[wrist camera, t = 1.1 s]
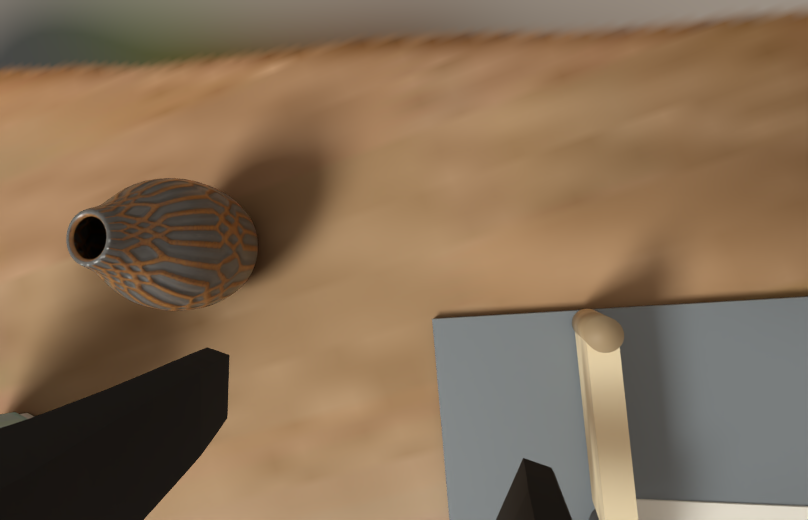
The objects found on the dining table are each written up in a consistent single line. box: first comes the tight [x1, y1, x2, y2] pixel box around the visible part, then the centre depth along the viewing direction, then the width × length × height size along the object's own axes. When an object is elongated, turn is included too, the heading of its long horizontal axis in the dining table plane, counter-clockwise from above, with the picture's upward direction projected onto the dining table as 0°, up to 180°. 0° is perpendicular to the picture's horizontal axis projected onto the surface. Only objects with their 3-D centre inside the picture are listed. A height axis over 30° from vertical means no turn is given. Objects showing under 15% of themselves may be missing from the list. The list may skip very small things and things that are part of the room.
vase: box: [67, 178, 258, 311], centre depth 21 cm, size 7×7×9 cm
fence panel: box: [572, 309, 638, 520], centre depth 18 cm, size 9×1×4 cm, turn 5°
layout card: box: [432, 296, 808, 520], centre depth 19 cm, size 18×19×1 cm
